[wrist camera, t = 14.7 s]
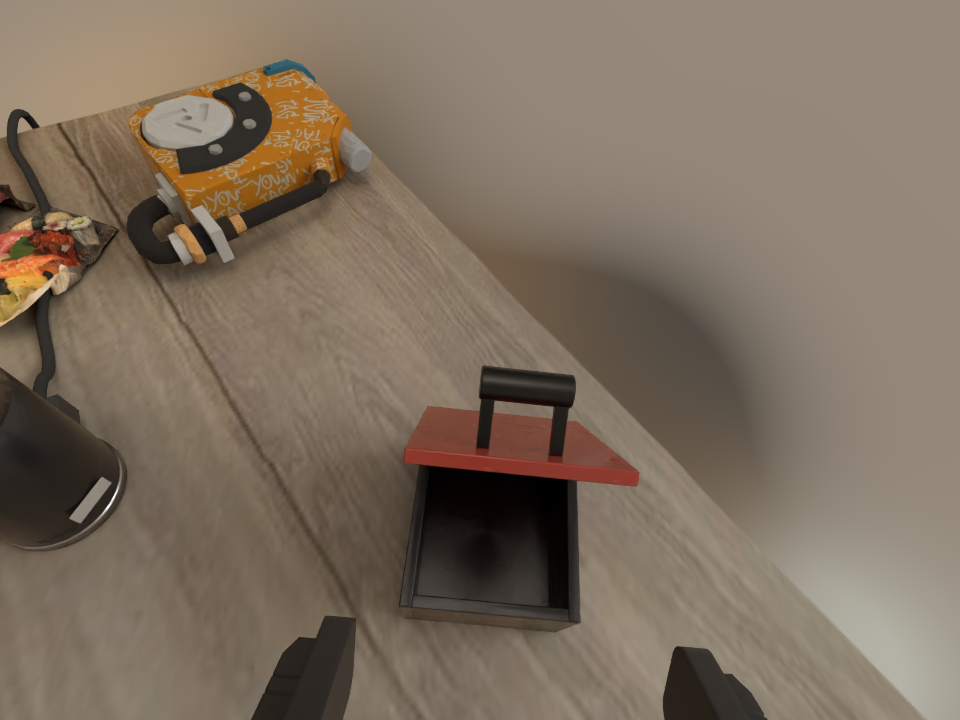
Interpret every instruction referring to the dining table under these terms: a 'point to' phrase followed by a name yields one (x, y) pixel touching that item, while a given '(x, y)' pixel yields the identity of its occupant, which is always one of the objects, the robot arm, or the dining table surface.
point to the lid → (517, 433)
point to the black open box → (493, 550)
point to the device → (238, 159)
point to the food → (44, 254)
